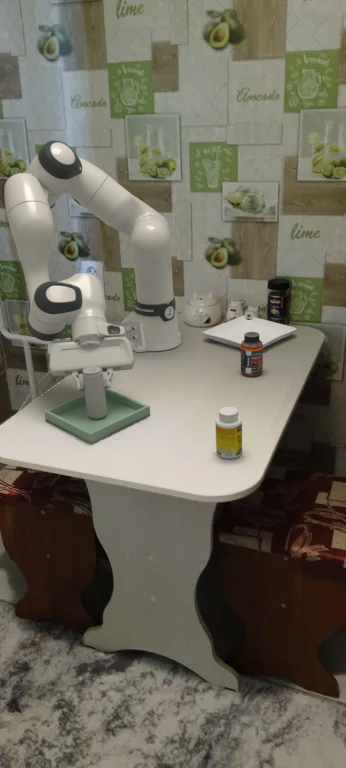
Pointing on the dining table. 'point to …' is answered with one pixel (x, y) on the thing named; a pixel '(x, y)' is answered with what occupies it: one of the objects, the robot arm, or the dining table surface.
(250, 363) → the supplement bottle
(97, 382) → the beverage can
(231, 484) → the dining table surface
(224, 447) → the supplement bottle
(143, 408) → the green tray
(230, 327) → the salad plate
